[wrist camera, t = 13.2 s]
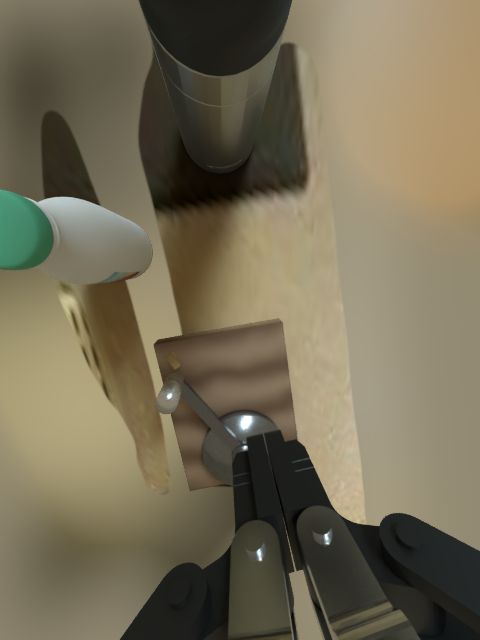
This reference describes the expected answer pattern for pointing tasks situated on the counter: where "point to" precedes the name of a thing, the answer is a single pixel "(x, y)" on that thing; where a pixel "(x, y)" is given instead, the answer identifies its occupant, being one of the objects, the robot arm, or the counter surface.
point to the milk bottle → (70, 240)
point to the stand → (227, 383)
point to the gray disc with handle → (216, 426)
